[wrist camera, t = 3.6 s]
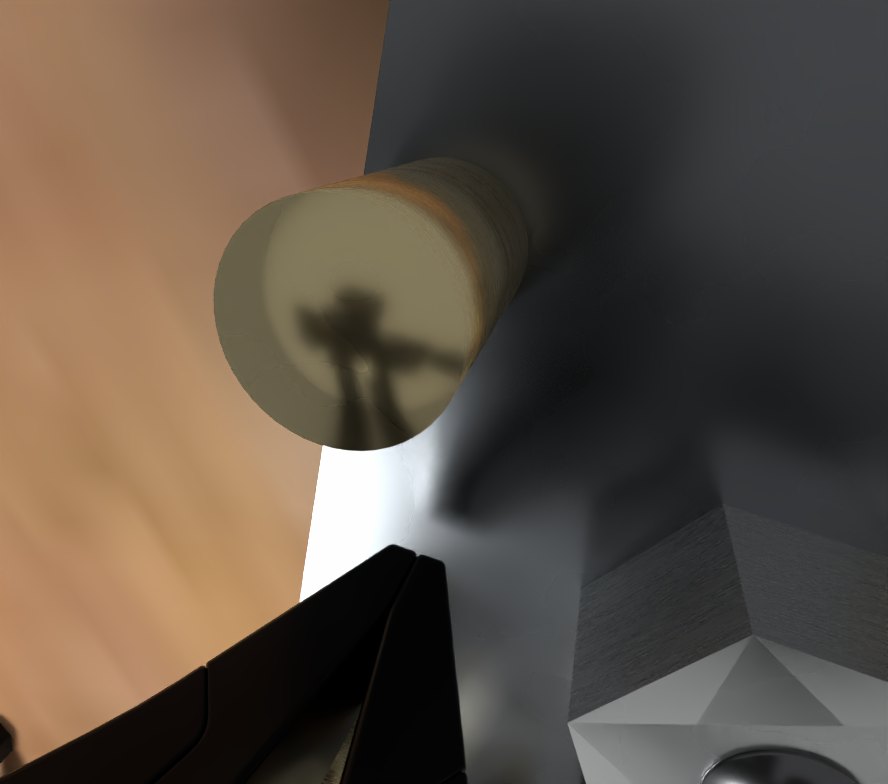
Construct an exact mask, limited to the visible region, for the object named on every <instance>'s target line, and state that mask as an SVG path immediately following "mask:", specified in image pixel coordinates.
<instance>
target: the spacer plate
mask: <svg viewBox="0 0 888 784" xmlns="http://www.w3.org/2000/svg"><path fill="white" fill-rule="evenodd" d="M214 314H215V321H216V328H217V332H218V336H219V339H220V343H221V346H222V348H223V351H224V354H225V356H226V359H227V361H228V363H229V365H230V367H231V369H232V371H233V373H234V374H235V376H236V377H237V379H238V381H239V382H240V384H241V385H242V387H243V388H244V389H245V391H246V392H247V393H248V394H249V396H250V397H251V398H252V399H253V400H254V401H255V402H256V403H257V405H258V406H259V407H260V408H261V409H262V410H263V411H264V412H266V413H267V414H268V415H269V416H270V417H272V418H273V419H274V420H275V421H276V422H278V423H279V424H281V425H282V426H284V427H285V428H287V429H288V430H289V431H291V432H293V433H295V434H297V435H299V436H301V437H302V438H305V439H307V440H310V441H312V442H314V443H317V444H320V445H323V450H322V456H321V463H320V469H319V476H318V483H317V489H316V496H315V503H314V509H313V516H312V523H311V529H310V536H309V543H308V549H307V556H306V563H305V569H304V576H303V583H302V589H301V596H300V602H301V601H303V600H305V599H306V598H308V597H309V596H311V595H312V594H314V593H315V592H317V591H318V590H320V589H322V588H323V587H325V586H326V585H328V584H329V583H331V582H332V581H334V580H335V579H337V578H339V577H340V576H342V575H343V574H345V573H346V572H348V571H349V570H351V569H353V568H354V567H356V566H357V565H359V564H360V563H362V562H363V561H365V560H366V559H368V558H370V557H371V556H373V555H374V554H376V553H377V552H379V551H380V550H382V549H384V548H385V547H387V546H388V545H391V544H396V545H399V546H402V547H404V548H407V549H410V550H413V551H415V553H416V555H417V556H419V555H420V554H424V555H426V556H429V557H432V558H435V559H437V560H440V561H442V562H444V564H445V566H446V575H447V585H448V594H449V604H450V614H451V623H452V633H453V643H454V652H455V662H456V672H457V681H458V691H459V701H460V710H461V720H462V730H463V739H464V749H465V758H466V772H465V773H466V774H467V776H468V784H586V782H585V778H584V775H583V772H582V769H581V765H580V762H579V759H578V756H577V752H576V749H575V746H574V743H573V739H572V736H571V733H570V730H569V727H568V723H567V722H568V712H569V702H570V692H571V683H572V673H573V663H574V653H575V643H576V633H577V623H578V613H579V603H580V594H581V589H582V588H583V587H585V586H587V585H588V584H590V583H592V582H593V581H595V580H597V579H598V578H600V577H602V576H603V575H605V574H607V573H608V572H610V571H612V570H613V569H615V568H617V567H618V566H620V565H622V564H623V563H625V562H627V561H628V560H630V559H632V558H633V557H635V556H637V555H638V554H640V553H642V552H643V551H645V550H647V549H648V548H650V547H652V546H653V545H655V544H657V543H658V542H660V541H662V540H663V539H665V538H667V537H668V536H670V535H672V534H673V533H675V532H677V531H678V530H680V529H682V528H683V527H685V526H687V525H688V524H690V523H692V522H693V521H695V520H697V519H698V518H700V517H702V516H703V515H705V514H707V513H708V512H710V511H712V510H713V509H715V508H717V507H718V506H720V505H722V504H725V505H728V506H731V507H734V508H737V509H740V510H743V511H746V512H749V513H752V514H756V515H759V516H762V517H765V518H768V519H771V520H774V521H777V522H780V523H783V524H786V525H789V526H792V527H795V528H798V529H801V530H804V531H808V532H811V533H814V534H817V535H820V536H823V537H826V538H829V539H832V540H835V541H838V542H841V543H844V544H847V545H850V546H853V547H857V548H860V549H863V550H866V551H869V552H872V553H875V554H878V555H881V556H884V557H887V558H888V0H390V4H389V11H388V17H387V24H386V31H385V37H384V44H383V51H382V57H381V64H380V71H379V77H378V84H377V91H376V97H375V104H374V110H373V117H372V124H371V130H370V137H369V144H368V150H367V157H366V164H365V170H364V175H363V176H360V177H356V178H352V179H349V180H345V181H341V182H338V183H334V184H331V185H327V186H323V187H320V188H316V189H312V190H309V191H305V192H301V193H298V194H294V195H290V196H287V197H284V198H281V199H279V200H276V201H274V202H272V203H269V204H268V205H266V206H264V207H263V208H261V209H260V210H258V211H256V212H255V213H254V214H253V215H252V216H251V217H249V218H248V219H247V220H246V221H245V222H244V223H243V224H242V225H241V226H240V228H239V229H238V230H237V231H236V232H235V234H234V235H233V236H232V238H231V240H230V242H229V243H228V245H227V247H226V248H225V251H224V253H223V256H222V258H221V260H220V263H219V267H218V271H217V275H216V279H215V288H214ZM300 602H299V603H300ZM358 716H359V715H358ZM357 719H358V717H357ZM357 719H356V721H355V722H354V724H353V726H352V728H351V730H350V732H349V734H348V735H347V737H346V739H345V741H344V743H343V745H342V746H341V748H340V750H339V752H338V754H337V756H336V757H335V759H334V761H333V763H332V765H331V767H330V769H329V770H328V772H327V774H326V776H325V778H324V780H323V781H322V783H321V784H339V783H340V779H341V776H342V772H343V769H344V765H345V761H346V758H347V754H348V751H349V747H350V744H351V740H352V737H353V733H354V730H355V726H356V723H357Z"/></svg>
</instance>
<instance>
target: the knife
mask: <svg viewBox="0 0 888 784" xmlns="http://www.w3.org/2000/svg"><path fill="white" fill-rule="evenodd" d="M11 751H12V741H11V735H10V734H9V733H8V732H7V730H6V729H5V728H4V727H3V726H2V725H1V724H0V763H1V762H2V761H3V760H4V759H5V758H6V757H7V756H8V755H9V754H10V753H11Z"/></svg>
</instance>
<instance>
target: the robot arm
mask: <svg viewBox="0 0 888 784" xmlns="http://www.w3.org/2000/svg"><path fill="white" fill-rule="evenodd" d="M358 715H359V716H358ZM357 717H358V719H357ZM356 719H357V723H356V726H355V730H354V733H353V737H352V740H351V744H350V747H349V751H348V754H347V758H346V761H345V765H344V769H343V772H342V776H341V779H340V783H339V784H468V776H467V774H466V773H465V772H466V758H465V749H464V739H463V730H462V720H461V710H460V701H459V691H458V681H457V672H456V662H455V652H454V643H453V633H452V623H451V614H450V604H449V594H448V585H447V575H446V566H445V564H444V562H442V561H440V560H437V559H435V558H432V557H429V556H426V555H424V554H420V555H419V556H417V555H416V553H415V551H413V550H410V549H407V548H404V547H402V546H399V545H396V544H391V545H388V546H387V547H385V548H384V549H382V550H380V551H379V552H377V553H376V554H374V555H373V556H371V557H370V558H368V559H366V560H365V561H363V562H362V563H360V564H359V565H357V566H356V567H354V568H353V569H351V570H349V571H348V572H346V573H345V574H343V575H342V576H340V577H339V578H337V579H335V580H334V581H332V582H331V583H329V584H328V585H326V586H325V587H323V588H322V589H320V590H318V591H317V592H315V593H314V594H312V595H311V596H309V597H308V598H306V599H305V600H303V601H301V602H300V603H298V604H297V605H295V606H294V607H292V608H291V609H289V610H287V611H286V612H284V613H283V614H281V615H280V616H278V617H277V618H275V619H274V620H272V621H270V622H269V623H267V624H266V625H264V626H263V627H261V628H260V629H258V630H256V631H255V632H253V633H252V634H250V635H249V636H247V637H246V638H244V639H243V640H241V641H239V642H238V643H236V644H235V645H233V646H232V647H230V648H229V649H227V650H225V651H224V652H222V653H221V654H219V655H218V656H216V657H215V658H213V659H211V660H210V661H208V662H207V664H206V667H205V666H200V667H198V668H197V669H195V670H194V671H192V672H191V673H189V674H188V675H186V676H185V677H183V678H182V679H180V680H179V681H177V682H175V683H174V684H172V685H170V686H169V687H167V688H165V689H164V690H162V691H161V692H159V693H157V694H156V695H154V696H152V697H151V698H149V699H147V700H146V701H144V702H142V703H141V704H139V705H138V706H136V707H134V708H132V709H130V710H128V711H126V712H125V713H123V714H121V715H119V716H117V717H115V718H114V719H112V720H110V721H108V722H106V723H104V724H102V725H101V726H99V727H97V728H95V729H93V730H91V731H90V732H88V733H86V734H84V735H82V736H80V737H78V738H76V739H74V740H72V741H70V742H68V743H66V744H64V745H62V746H60V747H58V748H56V749H55V750H53V751H51V752H49V753H47V754H45V755H43V756H41V757H39V758H37V759H35V760H33V761H31V762H29V763H27V764H25V765H23V766H22V767H20V768H18V769H16V770H14V771H12V772H10V773H8V774H6V775H4V776H2V777H0V784H321V783H322V781H323V780H324V778H325V776H326V774H327V772H328V770H329V769H330V767H331V765H332V763H333V761H334V759H335V757H336V756H337V754H338V752H339V750H340V748H341V746H342V745H343V743H344V741H345V739H346V737H347V735H348V734H349V732H350V730H351V728H352V726H353V724H354V722H355V721H356Z"/></svg>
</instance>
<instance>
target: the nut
mask: <svg viewBox="0 0 888 784" xmlns="http://www.w3.org/2000/svg"><path fill="white" fill-rule="evenodd" d="M567 723H568V727H569V730H570V733H571V736H572V739H573V743H574V746H575V749H576V752H577V756H578V759H579V762H580V765H581V769H582V772H583V775H584V778H585V782H586V784H888V558H887V557H884V556H881V555H878V554H875V553H872V552H869V551H866V550H863V549H860V548H857V547H853V546H850V545H847V544H844V543H841V542H838V541H835V540H832V539H829V538H826V537H823V536H820V535H817V534H814V533H811V532H808V531H804V530H801V529H798V528H795V527H792V526H789V525H786V524H783V523H780V522H777V521H774V520H771V519H768V518H765V517H762V516H759V515H756V514H752V513H749V512H746V511H743V510H740V509H737V508H734V507H731V506H728V505H725V504H722V505H720V506H718V507H717V508H715V509H713V510H712V511H710V512H708V513H707V514H705V515H703V516H702V517H700V518H698V519H697V520H695V521H693V522H692V523H690V524H688V525H687V526H685V527H683V528H682V529H680V530H678V531H677V532H675V533H673V534H672V535H670V536H668V537H667V538H665V539H663V540H662V541H660V542H658V543H657V544H655V545H653V546H652V547H650V548H648V549H647V550H645V551H643V552H642V553H640V554H638V555H637V556H635V557H633V558H632V559H630V560H628V561H627V562H625V563H623V564H622V565H620V566H618V567H617V568H615V569H613V570H612V571H610V572H608V573H607V574H605V575H603V576H602V577H600V578H598V579H597V580H595V581H593V582H592V583H590V584H588V585H587V586H585V587H583V588H582V589H581V594H580V603H579V613H578V623H577V633H576V643H575V653H574V663H573V673H572V683H571V692H570V702H569V712H568V722H567Z"/></svg>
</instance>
